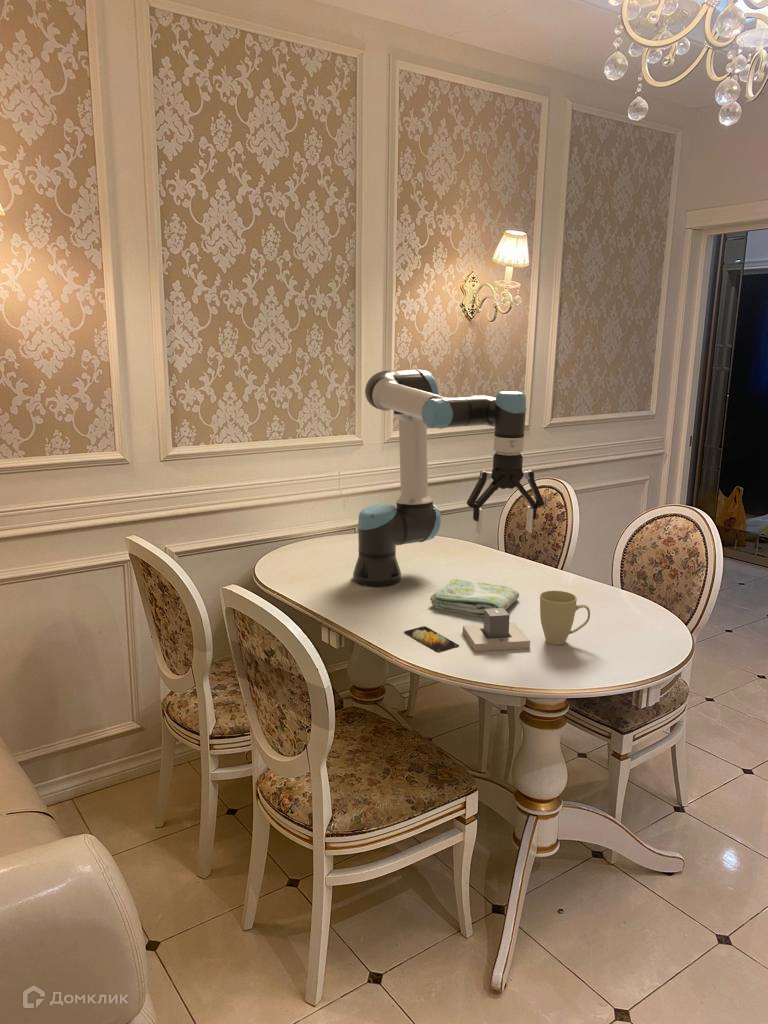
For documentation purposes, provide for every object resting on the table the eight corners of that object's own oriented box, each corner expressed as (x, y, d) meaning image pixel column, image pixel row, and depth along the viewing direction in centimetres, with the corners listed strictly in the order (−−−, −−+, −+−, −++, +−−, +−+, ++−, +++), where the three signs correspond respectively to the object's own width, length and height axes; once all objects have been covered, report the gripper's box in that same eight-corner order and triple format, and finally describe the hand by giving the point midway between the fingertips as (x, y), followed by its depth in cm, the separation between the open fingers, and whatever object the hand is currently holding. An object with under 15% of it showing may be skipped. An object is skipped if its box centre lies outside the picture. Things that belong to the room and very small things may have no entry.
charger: (483, 636, 191) (484, 608, 189) (501, 635, 192) (503, 607, 190) (489, 644, 186) (490, 615, 184) (508, 642, 187) (509, 614, 185)
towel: (452, 589, 227) (452, 573, 226) (519, 601, 218) (520, 584, 216) (428, 609, 211) (428, 592, 210) (500, 622, 202) (500, 604, 201)
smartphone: (437, 652, 182) (402, 631, 194) (437, 654, 182) (402, 633, 194) (460, 645, 185) (425, 625, 198) (460, 648, 186) (425, 627, 198)
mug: (553, 652, 182) (556, 606, 179) (530, 637, 191) (532, 593, 188) (589, 645, 186) (593, 600, 183) (565, 630, 195) (568, 587, 192)
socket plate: (462, 632, 194) (462, 624, 193) (514, 629, 196) (514, 621, 195) (475, 651, 182) (475, 643, 182) (529, 648, 184) (530, 640, 184)
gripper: (464, 455, 186) (460, 537, 191) (560, 454, 189) (554, 534, 194) (457, 450, 193) (454, 529, 198) (550, 449, 196) (544, 527, 202)
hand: (503, 532), depth 197 cm, fingers open, 13 cm apart
